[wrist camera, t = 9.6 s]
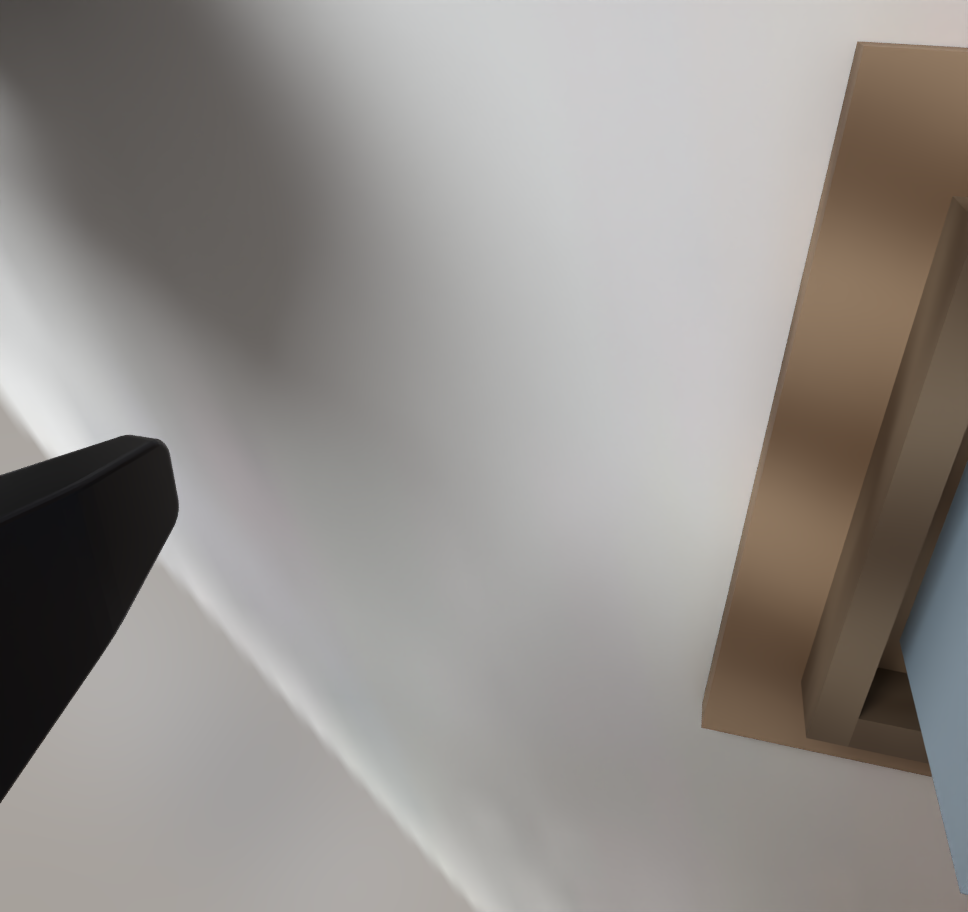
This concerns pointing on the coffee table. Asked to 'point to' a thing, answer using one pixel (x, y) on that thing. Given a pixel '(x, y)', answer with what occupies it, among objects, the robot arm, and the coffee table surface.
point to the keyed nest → (859, 429)
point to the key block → (944, 673)
